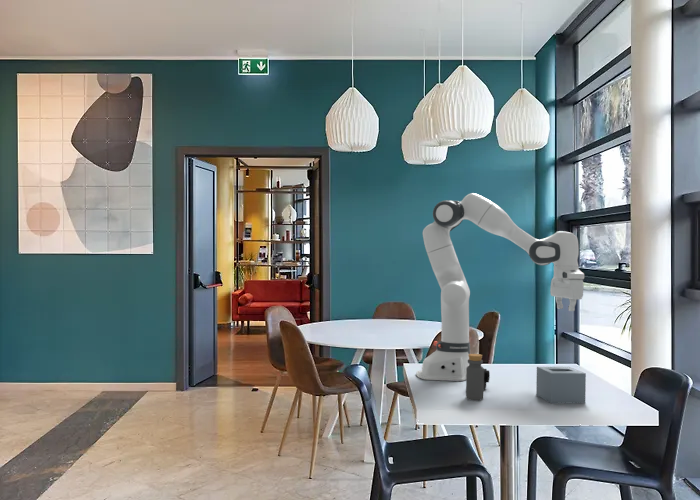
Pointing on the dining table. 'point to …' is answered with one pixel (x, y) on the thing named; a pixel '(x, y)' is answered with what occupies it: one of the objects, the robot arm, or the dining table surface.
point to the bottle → (474, 378)
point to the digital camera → (486, 377)
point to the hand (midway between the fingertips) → (565, 309)
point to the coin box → (561, 384)
